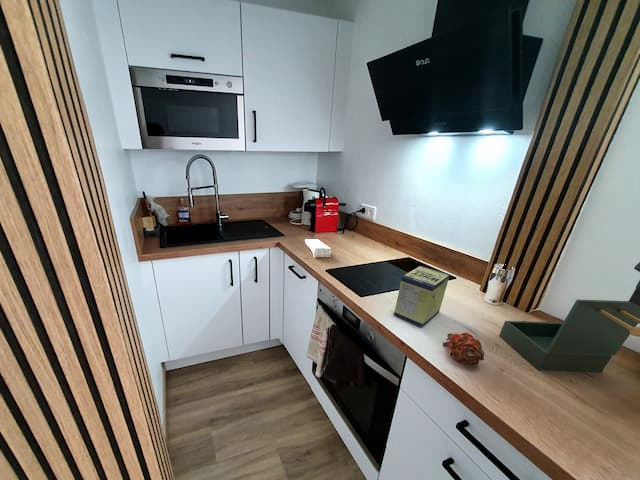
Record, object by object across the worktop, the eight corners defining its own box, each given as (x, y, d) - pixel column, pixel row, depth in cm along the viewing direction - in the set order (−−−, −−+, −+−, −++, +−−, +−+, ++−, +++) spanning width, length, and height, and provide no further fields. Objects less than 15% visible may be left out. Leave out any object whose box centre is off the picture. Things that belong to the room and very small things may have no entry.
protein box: (439, 312, 105) (450, 273, 99) (422, 328, 95) (433, 286, 89) (411, 301, 112) (420, 265, 106) (392, 315, 102) (401, 276, 96)
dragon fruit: (472, 379, 76) (443, 355, 88) (499, 362, 76) (467, 339, 87) (459, 357, 74) (431, 335, 86) (487, 339, 74) (455, 319, 85)
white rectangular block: (304, 251, 179) (315, 262, 152) (302, 240, 177) (312, 249, 150) (320, 247, 179) (333, 257, 153) (317, 235, 177) (330, 244, 150)
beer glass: (506, 306, 110) (520, 271, 104) (486, 304, 111) (499, 269, 105) (496, 298, 116) (509, 264, 110) (478, 296, 117) (490, 262, 111)
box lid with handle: (576, 299, 69) (619, 324, 60) (649, 301, 69) (702, 327, 60) (546, 351, 76) (580, 380, 67) (611, 353, 76) (654, 382, 67)
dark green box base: (498, 335, 92) (504, 320, 90) (552, 337, 92) (560, 322, 90) (538, 370, 78) (546, 353, 76) (602, 372, 78) (612, 355, 76)
